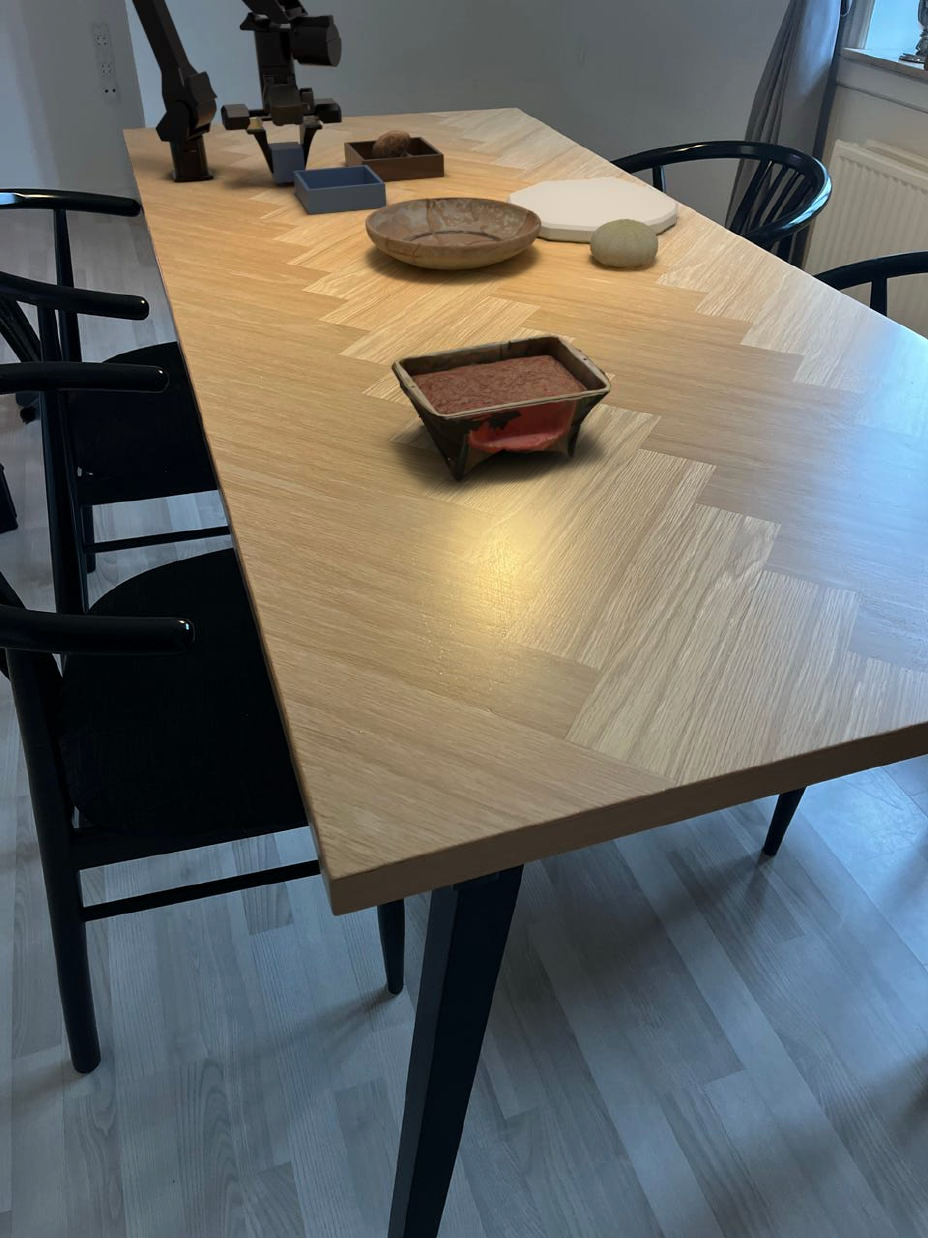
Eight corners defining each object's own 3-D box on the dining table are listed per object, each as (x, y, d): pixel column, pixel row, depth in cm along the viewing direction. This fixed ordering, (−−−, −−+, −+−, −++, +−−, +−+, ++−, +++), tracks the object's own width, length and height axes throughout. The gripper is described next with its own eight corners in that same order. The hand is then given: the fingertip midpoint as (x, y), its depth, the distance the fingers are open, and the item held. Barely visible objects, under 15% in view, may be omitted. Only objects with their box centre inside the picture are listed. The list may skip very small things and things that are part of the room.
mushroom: (428, 143, 165) (406, 112, 161) (413, 172, 161) (390, 141, 157) (396, 161, 170) (374, 132, 166) (381, 190, 167) (358, 160, 163)
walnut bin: (345, 163, 169) (343, 142, 167) (421, 157, 173) (421, 136, 170) (363, 183, 159) (362, 160, 157) (444, 176, 162) (443, 154, 160)
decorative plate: (548, 220, 128) (486, 175, 146) (546, 252, 130) (486, 204, 149) (711, 203, 134) (633, 162, 152) (707, 234, 136) (630, 190, 155)
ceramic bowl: (544, 285, 120) (546, 244, 117) (359, 285, 120) (356, 245, 117) (536, 230, 138) (537, 193, 135) (375, 230, 138) (373, 194, 135)
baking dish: (605, 487, 85) (629, 378, 80) (413, 489, 79) (425, 373, 74) (546, 427, 96) (564, 329, 91) (375, 426, 91) (383, 321, 85)
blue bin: (295, 193, 154) (292, 170, 152) (368, 187, 157) (367, 164, 154) (309, 214, 145) (306, 190, 143) (386, 207, 148) (385, 183, 145)
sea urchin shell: (676, 242, 127) (657, 207, 120) (647, 294, 127) (627, 262, 120) (620, 228, 132) (599, 193, 125) (592, 279, 132) (570, 247, 125)
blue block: (271, 175, 160) (267, 143, 157) (300, 173, 161) (297, 140, 158) (276, 182, 156) (272, 149, 153) (306, 180, 157) (302, 147, 154)
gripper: (221, 75, 140) (237, 188, 150) (345, 68, 144) (353, 178, 154) (213, 64, 148) (229, 171, 158) (330, 58, 153) (338, 162, 162)
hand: (287, 171), depth 158 cm, fingers closed on blue block, 5 cm apart
